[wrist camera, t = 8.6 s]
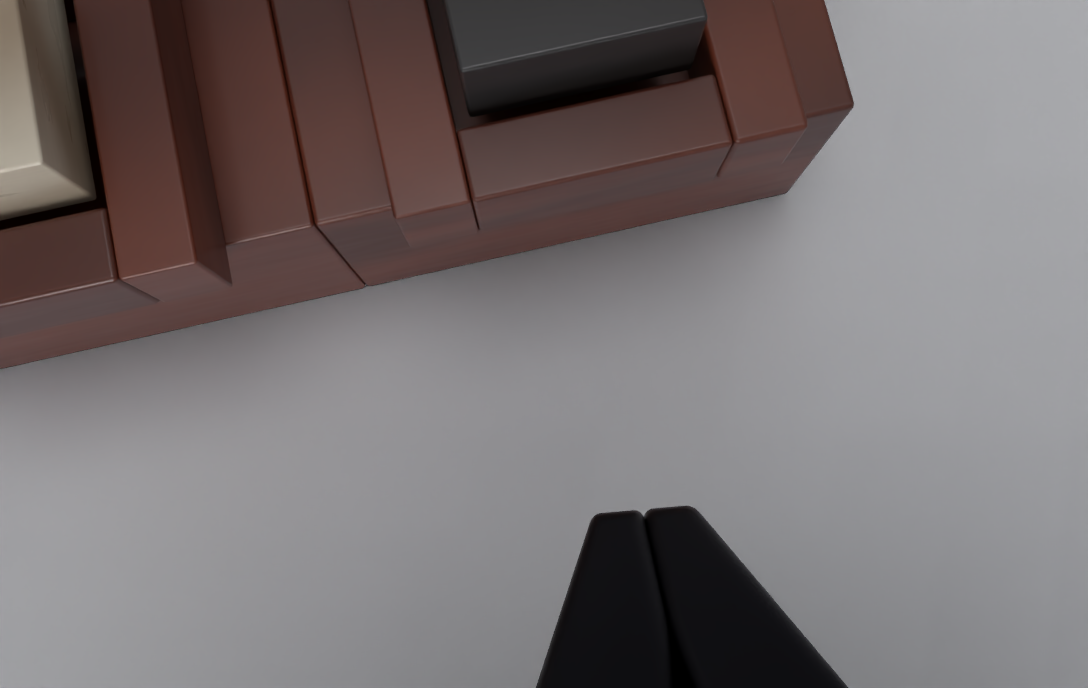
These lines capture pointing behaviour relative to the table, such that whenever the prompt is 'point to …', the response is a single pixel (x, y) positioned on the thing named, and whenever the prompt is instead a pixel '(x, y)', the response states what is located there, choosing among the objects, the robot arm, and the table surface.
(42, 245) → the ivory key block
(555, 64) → the black key
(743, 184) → the brown wooden block
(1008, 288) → the table surface
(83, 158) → the ivory key
